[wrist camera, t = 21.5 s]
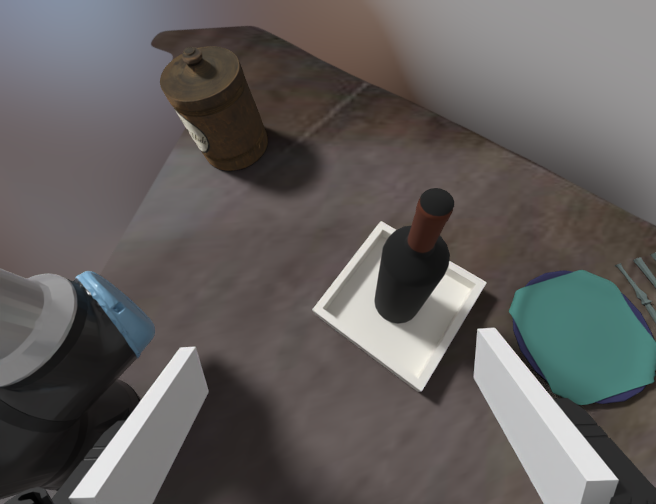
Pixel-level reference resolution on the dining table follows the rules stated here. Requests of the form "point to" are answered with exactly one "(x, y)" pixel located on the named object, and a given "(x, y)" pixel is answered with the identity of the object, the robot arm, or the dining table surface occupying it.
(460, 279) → the tray
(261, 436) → the dining table surface
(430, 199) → the wine bottle
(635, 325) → the cutlery set
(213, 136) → the wooden container
